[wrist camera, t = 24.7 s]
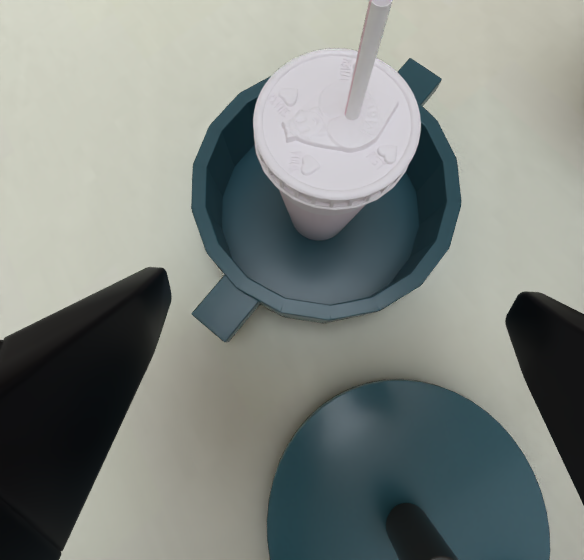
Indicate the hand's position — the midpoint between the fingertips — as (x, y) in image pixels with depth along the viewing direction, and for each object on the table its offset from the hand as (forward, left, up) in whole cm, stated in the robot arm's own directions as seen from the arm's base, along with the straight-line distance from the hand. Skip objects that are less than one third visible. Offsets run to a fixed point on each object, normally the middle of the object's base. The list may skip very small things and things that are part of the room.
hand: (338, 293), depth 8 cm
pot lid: (-8, -10, -12) cm, 18 cm away
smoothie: (+6, +3, -12) cm, 14 cm away
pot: (+6, +3, -13) cm, 15 cm away
